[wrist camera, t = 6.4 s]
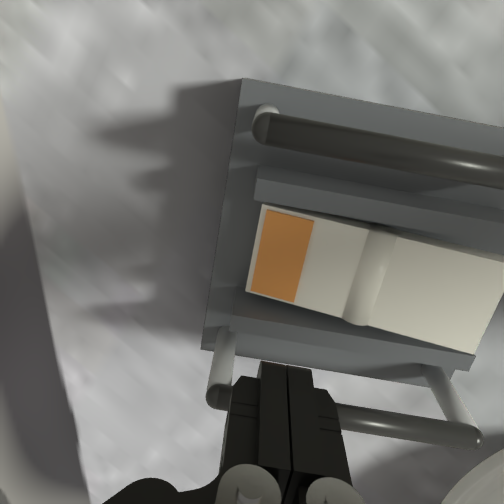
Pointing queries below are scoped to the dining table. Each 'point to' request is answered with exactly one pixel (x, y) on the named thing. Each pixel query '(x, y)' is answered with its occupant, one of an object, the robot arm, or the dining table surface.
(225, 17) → the dining table surface
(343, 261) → the breaker paddle
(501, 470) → the plate stack
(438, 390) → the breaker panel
